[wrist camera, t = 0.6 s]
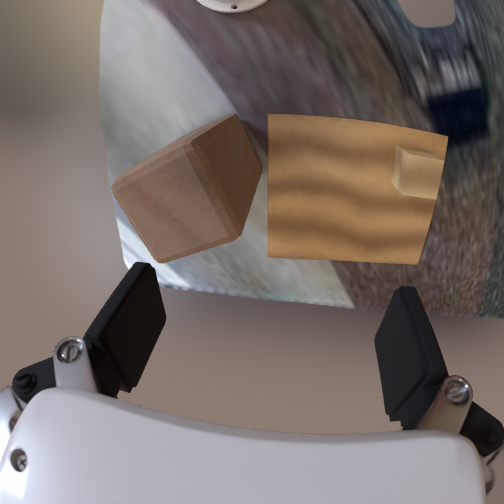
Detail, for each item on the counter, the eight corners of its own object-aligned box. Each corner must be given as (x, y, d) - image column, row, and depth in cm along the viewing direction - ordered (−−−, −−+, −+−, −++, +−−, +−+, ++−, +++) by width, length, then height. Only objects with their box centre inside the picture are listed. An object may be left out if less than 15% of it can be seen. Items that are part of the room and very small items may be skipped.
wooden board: (267, 113, 36) (267, 114, 36) (447, 136, 33) (448, 136, 33) (268, 256, 50) (268, 256, 50) (417, 263, 46) (417, 264, 46)
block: (237, 110, 37) (190, 137, 20) (265, 171, 41) (243, 242, 25) (178, 138, 40) (104, 186, 23) (207, 193, 45) (156, 269, 28)
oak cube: (396, 145, 36) (408, 153, 31) (430, 151, 35) (444, 160, 31) (391, 182, 39) (401, 195, 35) (423, 186, 38) (436, 199, 34)
